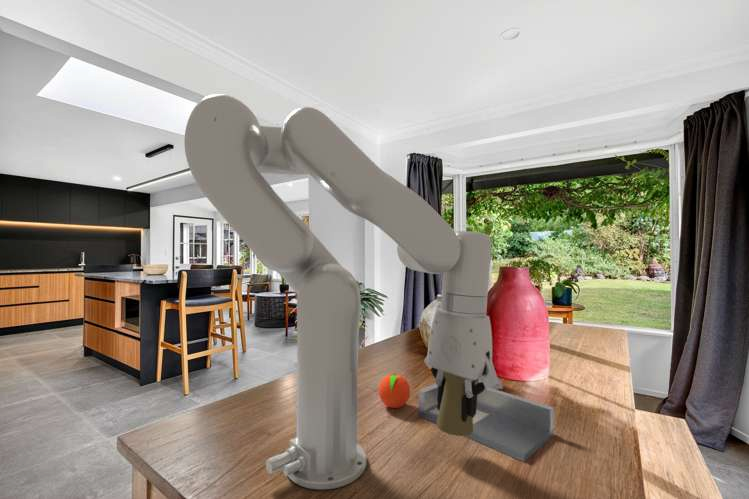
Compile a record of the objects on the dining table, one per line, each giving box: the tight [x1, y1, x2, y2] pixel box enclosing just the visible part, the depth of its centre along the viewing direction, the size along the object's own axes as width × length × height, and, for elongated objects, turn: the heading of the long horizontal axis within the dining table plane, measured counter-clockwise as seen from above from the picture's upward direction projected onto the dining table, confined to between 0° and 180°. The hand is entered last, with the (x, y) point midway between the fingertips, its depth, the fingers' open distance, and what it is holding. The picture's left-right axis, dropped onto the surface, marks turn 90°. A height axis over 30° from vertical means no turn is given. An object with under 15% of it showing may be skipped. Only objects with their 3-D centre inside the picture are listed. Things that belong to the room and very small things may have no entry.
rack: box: [417, 382, 555, 463], centre depth 70 cm, size 13×22×5 cm, turn 44°
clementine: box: [378, 373, 411, 409], centre depth 77 cm, size 8×7×7 cm
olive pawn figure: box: [436, 372, 473, 437], centre depth 60 cm, size 6×6×11 cm
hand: (455, 412), depth 60 cm, fingers closed on olive pawn figure, 3 cm apart
